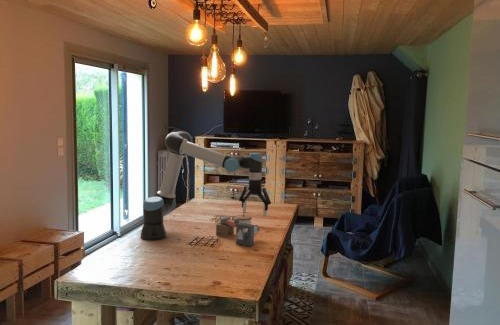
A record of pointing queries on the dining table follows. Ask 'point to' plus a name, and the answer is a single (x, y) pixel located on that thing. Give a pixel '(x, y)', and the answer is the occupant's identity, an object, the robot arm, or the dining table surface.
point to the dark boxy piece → (250, 239)
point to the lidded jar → (244, 219)
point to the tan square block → (224, 230)
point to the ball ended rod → (229, 221)
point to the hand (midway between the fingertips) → (254, 214)
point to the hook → (246, 232)
